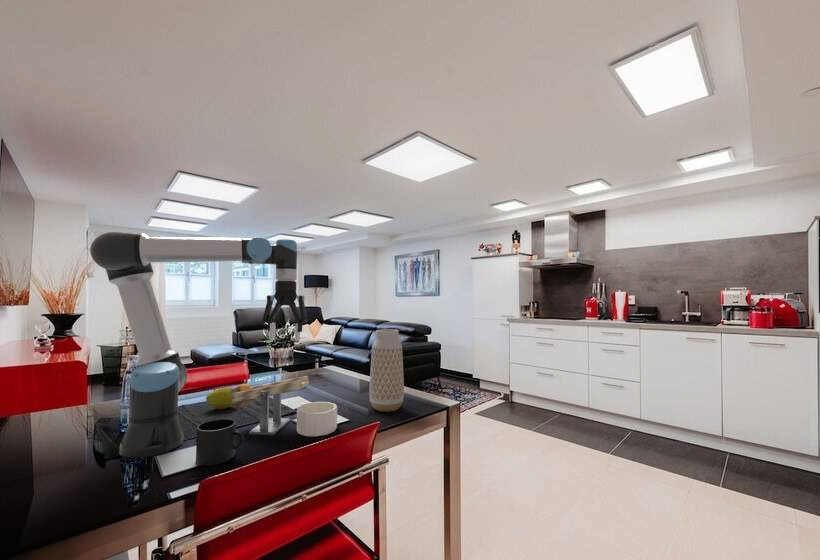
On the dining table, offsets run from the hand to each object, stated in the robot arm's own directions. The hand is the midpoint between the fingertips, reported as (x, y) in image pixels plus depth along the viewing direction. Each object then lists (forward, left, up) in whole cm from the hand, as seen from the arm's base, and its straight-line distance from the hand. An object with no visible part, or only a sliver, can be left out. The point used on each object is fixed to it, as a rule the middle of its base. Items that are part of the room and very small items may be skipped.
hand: (284, 340), depth 133 cm
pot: (+17, -12, -27) cm, 34 cm away
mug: (-2, -35, -28) cm, 45 cm away
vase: (+37, +12, -28) cm, 48 cm away
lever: (+2, -8, -18) cm, 20 cm away
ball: (-8, -12, -15) cm, 21 cm away
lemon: (-27, +5, -28) cm, 39 cm away
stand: (+1, -12, -27) cm, 30 cm away
